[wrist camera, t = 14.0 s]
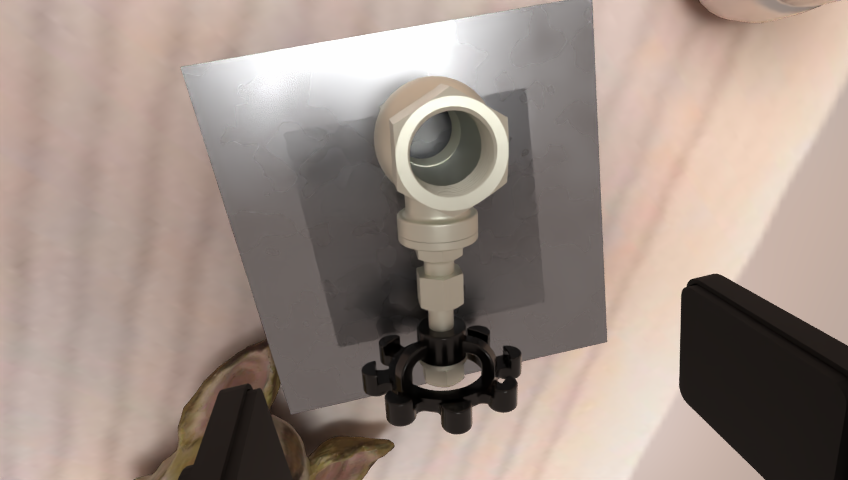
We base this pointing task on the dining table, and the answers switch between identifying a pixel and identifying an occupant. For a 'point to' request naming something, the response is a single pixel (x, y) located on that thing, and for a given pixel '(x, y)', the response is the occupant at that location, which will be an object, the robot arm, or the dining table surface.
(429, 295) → the valve
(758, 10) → the plastic bottle
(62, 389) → the dining table surface
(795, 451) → the robot arm
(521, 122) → the stand
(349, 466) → the ceramic sculpture
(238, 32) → the dining table surface
